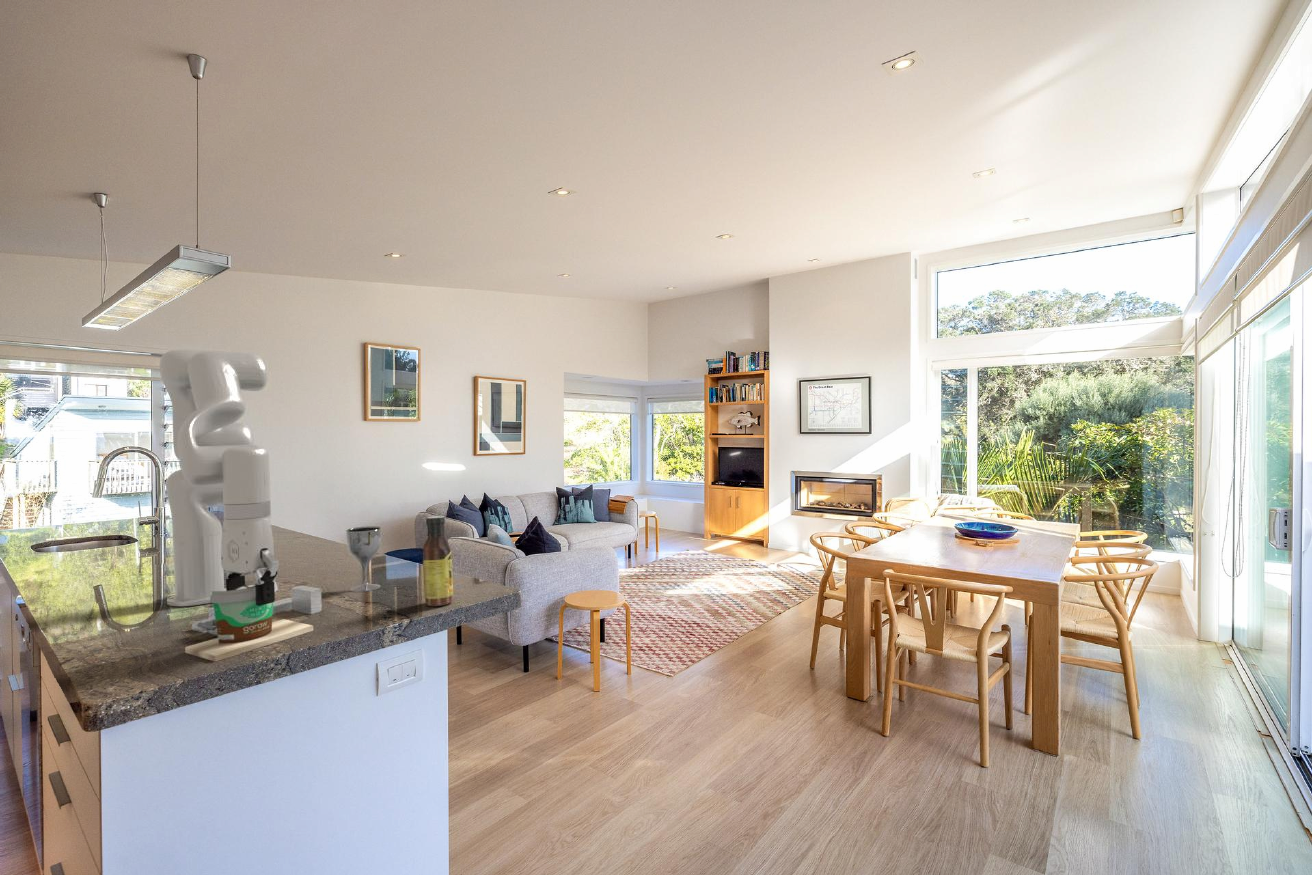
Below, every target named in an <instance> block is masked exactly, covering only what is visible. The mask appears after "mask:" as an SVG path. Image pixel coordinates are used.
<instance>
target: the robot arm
mask: <svg viewBox="0 0 1312 875" xmlns="http://www.w3.org/2000/svg"><path fill="white" fill-rule="evenodd" d="M159 372H160V376H161V381H162V382H163V385H164V387H165V389H166V392H167V394H168V396H169V398H170V399H169V400H170V402H171V406H172V441H173V442H172V443H173V444H172V445H173V452H174V455H175V457H176V458H177V459H178V460H179V466H180V469H179V470H176V471H173V472H171V474H170V475H169V476H167V479H166V482H165V489H166V495H167V499H168V504H169V509H170V515H171V523H172V524H171V525H172V546H173V569H174V570H173V571H174V572H173V574H174V577H173V578H174V584H173V588H174V595H172V596H171V595H170V597H168V598H167V600H166V603H167V604H166V605H168V606H170V607H191V606H200V605H207V604H211V603H210V596H211V595H212V591H231V590H233V589H235V588H237V587H240V586H244V585H246V580H245V579H246V576H247V575H250V574H253V576H254V578H255V580H256V584H257V583H258V584H257V585H255V593H256V605H257V606H261V605H265V604H269V603H273V602H274V601H276V597H275V596H276V595H275V593H276V592H275V589H274V582H275V581H276V580H277V576H278V573H279V571H278V569H279V566H280V561H279V559H277V558H276V557H275V550H274V549H275V548H274V537H273V529H272V524H271V518H272V511H271V510H272V509H271V507H272V506H271V480H270V456H269V451H268V450H267V449H266V448H264V447H261V446H259V445H256V444H255V439H254V438H255V437H254V434H253V431H252V429H251V428H250V427H249V426H248V425H247V424H246V423H243V422H238V421H239V420H240V419H241V418H242V417H244V415H245V413H246V409H247V408H246V404H245V400H244V397H243V396H244V395H243V393H242V392H243V391H244V392H259V391H262V390H263V389H265V387H266V385H267V383H268V379H269V375H268V369H267V365H266V363H265V361H264V360H263V359H262V357H260V356H259V355H258V354H255V353H250V352H233V351H231V352H230V351H218V350H216V351H215V350H206V349H205V350H204V349H174V350H169V351H166V352H165V353H163V354H162V355H161V357H160V361H159ZM221 506H223V524H222V523H221V521H220V519H219V518H218V517H217V516H216V515H215V514H213V513H212V512H211V511H210V510H209V508H212V507H221Z"/></svg>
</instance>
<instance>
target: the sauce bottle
mask: <svg viewBox="0 0 1312 875" xmlns="http://www.w3.org/2000/svg"><path fill="white" fill-rule="evenodd" d="M425 522H426V523H425V524H426V525H427V526H426V527H427V528H426V529H427V534H426V535H427V539H426V541H425V542H424V544H423V547H422V557H423V558H422V570H423V572H422V573H423V590H424V591H423V592H424V596H423V597H424V600H425V605H426V606H427V607H441V606H446V605H448V604H451V603H452V602H453V600H454V599H453V595H454V584H453V583H454V581H453V580H454V578H453V560H452V559H453V557H452V548H451V546H450V543H449V541H448V540H449V539H448V538H447V535H446V531H445V522H446V518H445V516H444V515H435V516H433V515H432V516H427V517H426V519H425Z"/></svg>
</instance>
